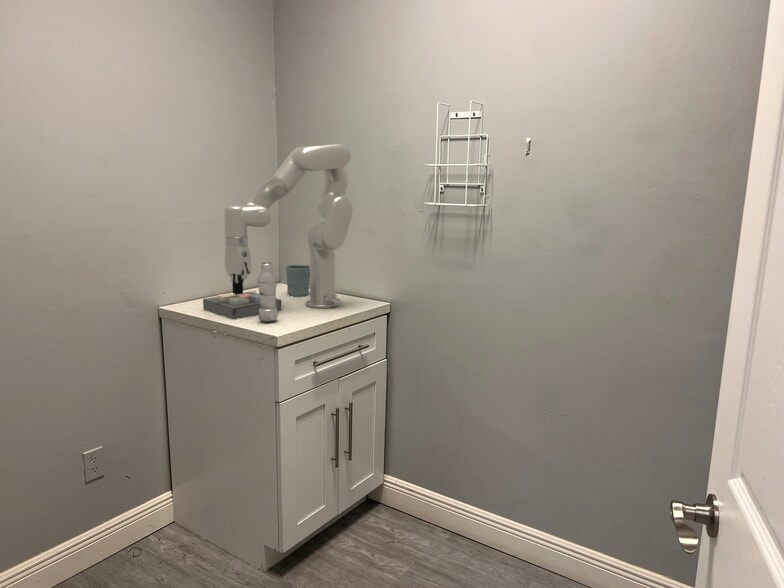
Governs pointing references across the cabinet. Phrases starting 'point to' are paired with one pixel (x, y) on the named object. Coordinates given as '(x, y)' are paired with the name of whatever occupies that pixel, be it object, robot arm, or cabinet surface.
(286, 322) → the cabinet surface
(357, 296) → the cabinet surface
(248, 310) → the keypad
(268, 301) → the plastic bottle
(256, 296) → the slate key
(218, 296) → the sand key
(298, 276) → the teal cup
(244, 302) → the sage key
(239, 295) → the terracotta key
